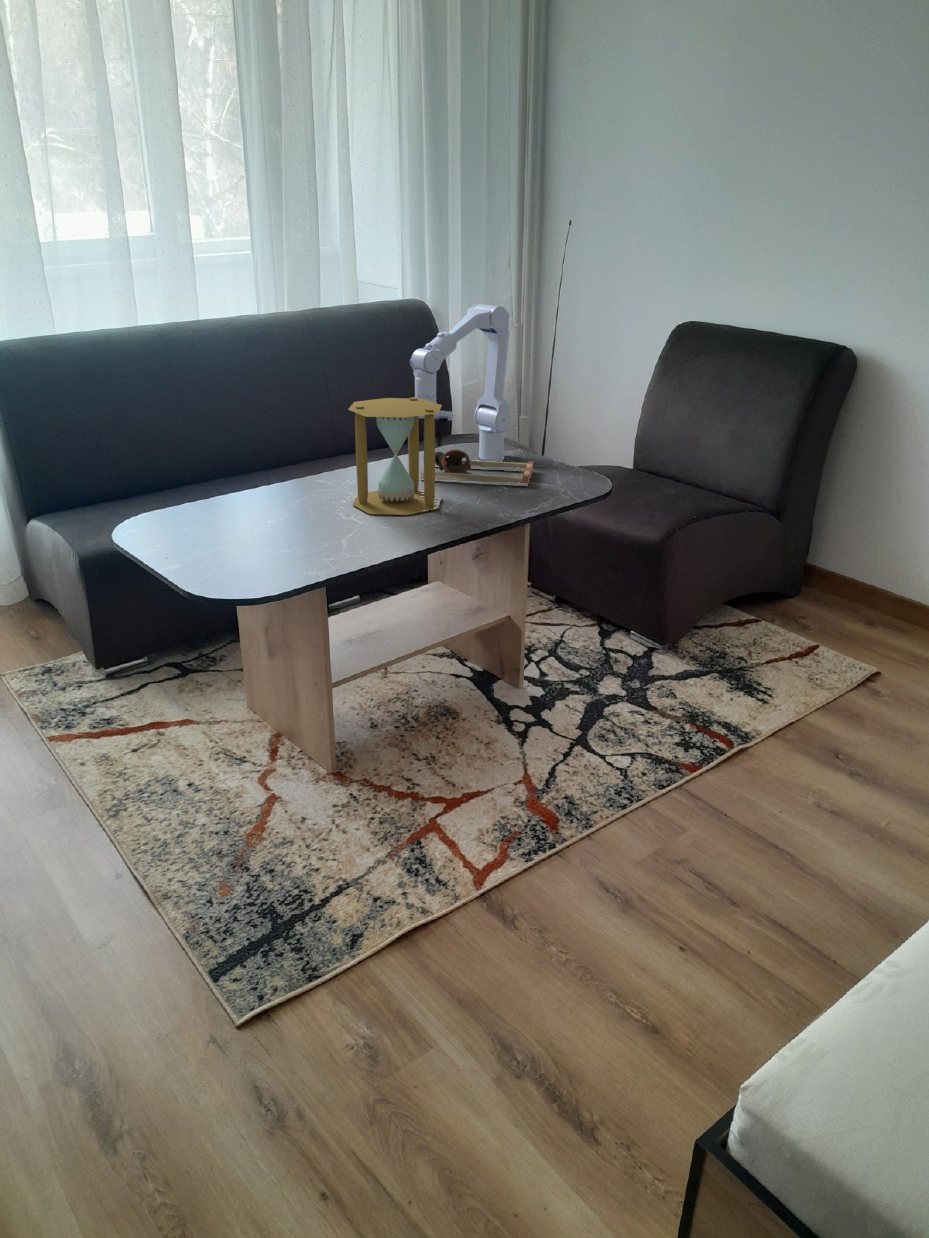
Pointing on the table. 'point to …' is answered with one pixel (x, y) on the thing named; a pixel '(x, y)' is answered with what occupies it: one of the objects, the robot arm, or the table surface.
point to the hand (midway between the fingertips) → (425, 444)
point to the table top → (487, 477)
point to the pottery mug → (452, 461)
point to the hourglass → (396, 483)
